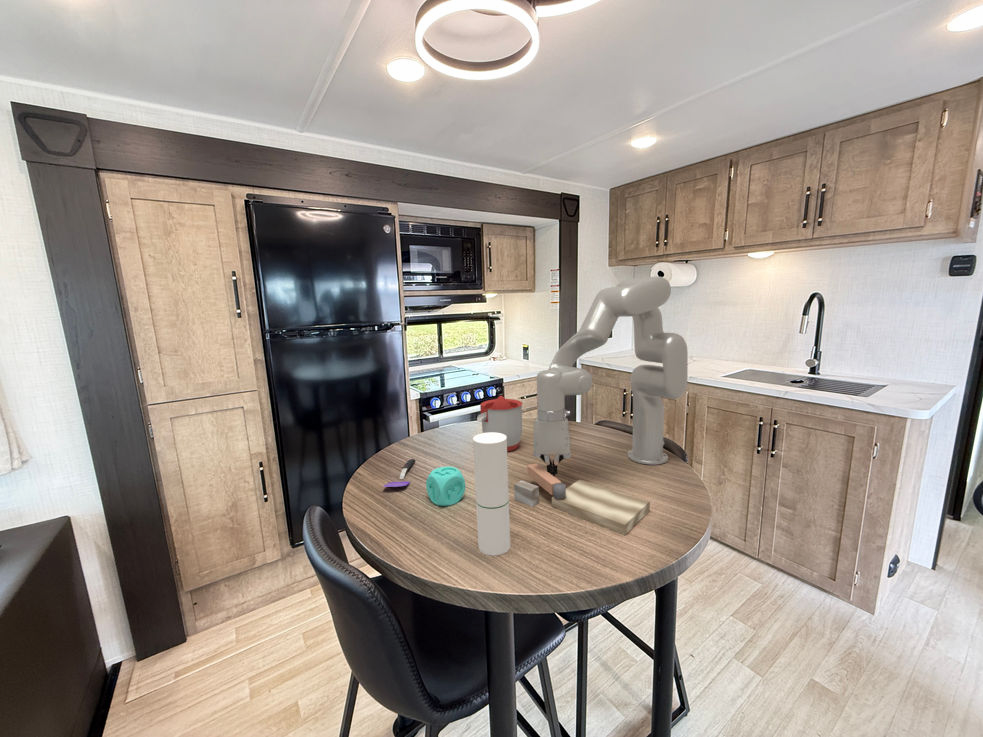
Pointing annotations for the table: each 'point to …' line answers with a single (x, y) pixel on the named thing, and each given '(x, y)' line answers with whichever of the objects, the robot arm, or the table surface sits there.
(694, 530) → the table surface
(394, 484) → the spatula
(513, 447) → the citrus juicer
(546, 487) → the stool leg
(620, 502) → the stool seat
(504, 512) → the cylindrical container
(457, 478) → the decorative dice
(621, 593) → the table surface
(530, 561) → the table surface
